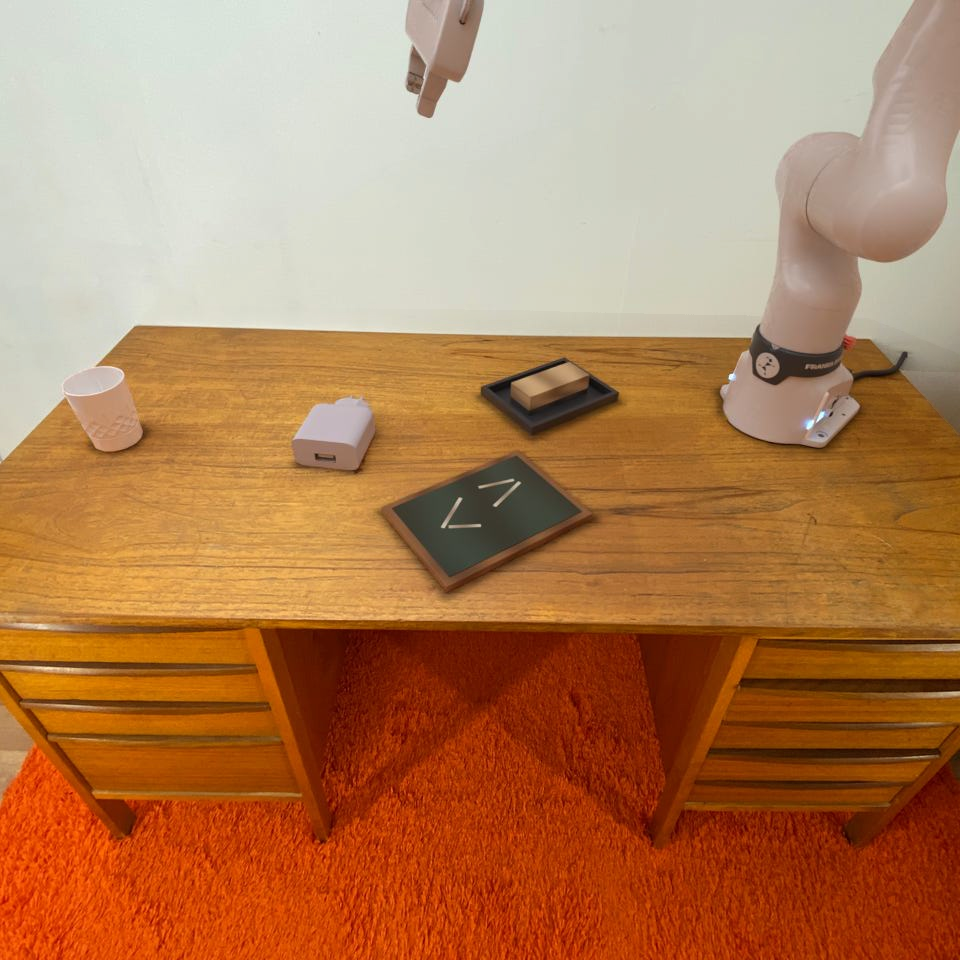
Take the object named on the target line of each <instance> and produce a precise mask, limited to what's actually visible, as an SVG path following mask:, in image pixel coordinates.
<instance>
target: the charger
mask: <svg viewBox="0 0 960 960" xmlns="http://www.w3.org/2000/svg"><path fill="white" fill-rule="evenodd" d="M364 398H365V397H364V396H363V395H360V397H359V398H355V397H354V395H352V394H350V395H349V397H342V398H340V399H337V400H335V402H334V403H318V404H315V405H314V406H312V408H311V410H310V411H309V412H308V414H307V416H306V418H305V419H304V420H303V422H302V424H301V425H300V427H299V428H298V430H297V431H296V433H295V435H294V436H293V438H292V439H291V441H290V444H291V448H292V449H291V450H292V453H293V458H294V461H295V462H296V463H297V464H300V465H301V466H307V467H315V468H323V469H332V470H342V471H355V470H357V469H359V467H360V465H361V463H362V461H363V459H364V457H365V455H366V452H367V450H368V448H369V446H370V444H371V443H372V440H373V438H374V436H375V434H376V430H377V429H376V420H375V413H374V412H373V411H372V410H371V409H370V408H371V407H372V406H371V404H370V403H368V402H366V401H365V400H364Z"/></svg>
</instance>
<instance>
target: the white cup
mask: <svg viewBox="0 0 960 960" xmlns="http://www.w3.org/2000/svg"><path fill="white" fill-rule="evenodd" d="M60 389H61V391H62V393H63V395H64V396H65V398H66V400H67V402H68V403H69V405H70V407H71V410H72V411H73V413H74V416H75V417H76V418H77V419H78V422H79V423H80V425H81V427H82V429H83V430H84V433H86V434H87V436H88V437H89V440H90V441H91V443H92V445H93V446H94V448H95V449H96V450H98V451H102V452H107V453H110V452H112V453H113V452H118V451H122V450H126V449H128V448H131V447H132V446H134V445H136V444H137V443H138V442H139V441H140V440H141V439H142V437H143V433H144V431H143V427H142V425H141V422H140V419H139V416H138V415H139V414H138V411H137V408H136V403H135V402H134V399H133V396H132V393H131V390H130V386H129V384H128V381H127V377H126V375H125V373H124V371H123V370H122V369H121V368H118V367H115V366H110V365H101V366H100V365H99V366H91V367H88V368H85V369H82V370H79V371H77V372H74V373H73V374H71V375H69V376H68V377H67V378H65V379H64V380H63V382H62V383H61V385H60Z"/></svg>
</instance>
